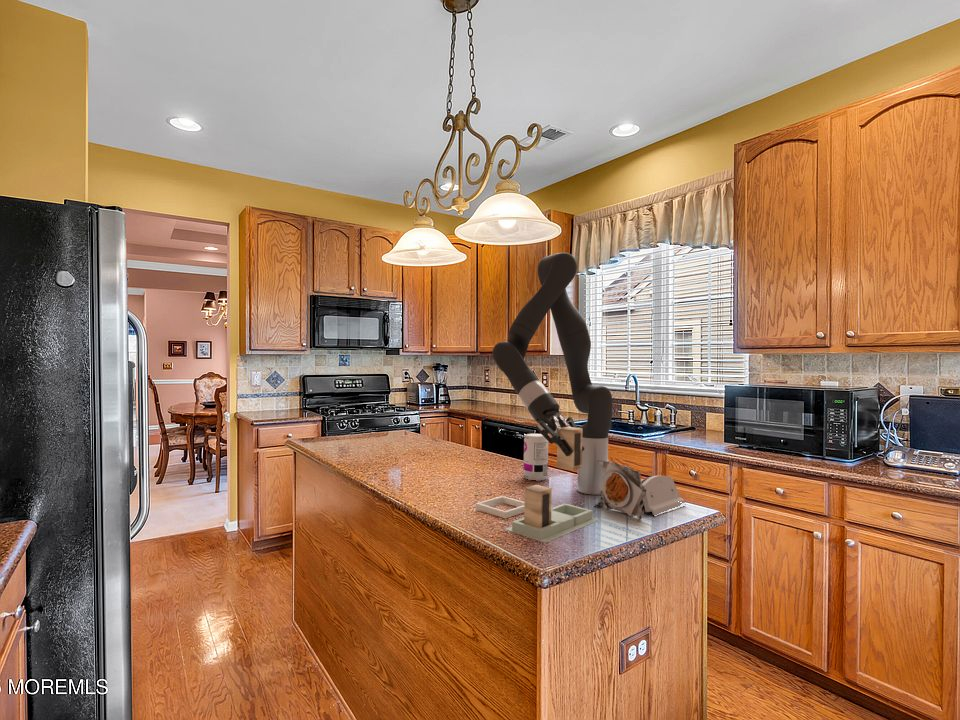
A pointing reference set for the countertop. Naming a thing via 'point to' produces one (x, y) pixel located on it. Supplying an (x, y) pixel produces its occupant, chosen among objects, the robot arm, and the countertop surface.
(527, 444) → the supplement can
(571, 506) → the green slotted tray
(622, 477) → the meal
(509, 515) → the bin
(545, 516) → the block
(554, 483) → the countertop surface
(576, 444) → the block
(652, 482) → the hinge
